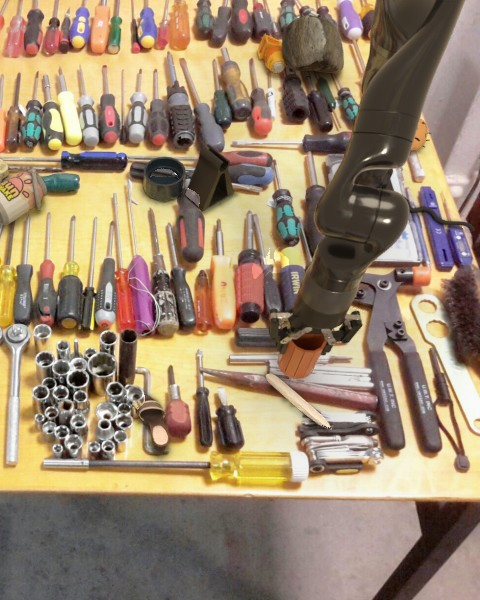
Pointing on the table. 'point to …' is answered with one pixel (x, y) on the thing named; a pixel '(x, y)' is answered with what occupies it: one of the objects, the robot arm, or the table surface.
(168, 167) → the big pot
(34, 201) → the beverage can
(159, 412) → the heeled mule
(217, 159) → the phone stand
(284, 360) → the small pot
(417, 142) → the toy
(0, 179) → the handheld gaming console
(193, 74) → the table surface
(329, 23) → the stone
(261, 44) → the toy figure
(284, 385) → the light wooden rod
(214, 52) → the table surface
